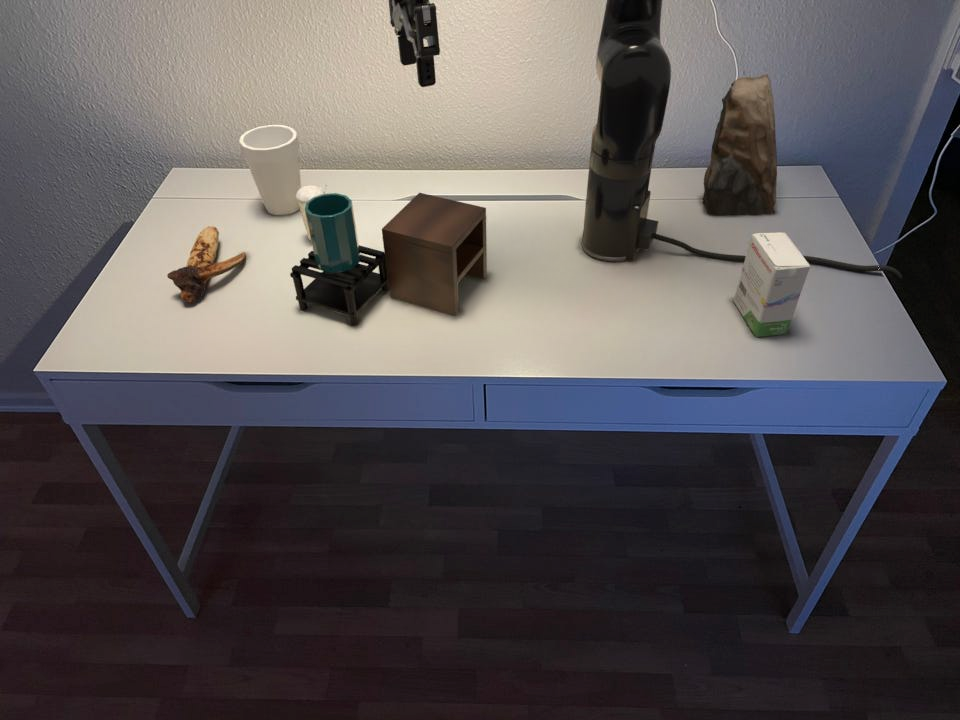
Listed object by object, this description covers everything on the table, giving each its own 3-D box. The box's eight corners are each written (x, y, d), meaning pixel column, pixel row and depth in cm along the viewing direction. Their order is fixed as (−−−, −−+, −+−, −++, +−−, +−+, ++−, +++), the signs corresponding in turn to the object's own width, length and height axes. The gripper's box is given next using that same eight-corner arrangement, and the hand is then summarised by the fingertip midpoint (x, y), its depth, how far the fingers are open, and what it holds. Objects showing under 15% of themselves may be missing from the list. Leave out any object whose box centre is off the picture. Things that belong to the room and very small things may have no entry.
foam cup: (321, 201, 129) (308, 132, 121) (285, 225, 124) (269, 154, 115) (282, 188, 133) (267, 120, 124) (246, 210, 128) (227, 141, 119)
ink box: (788, 335, 100) (813, 265, 92) (753, 337, 100) (776, 268, 92) (763, 297, 107) (785, 229, 99) (731, 300, 106) (750, 232, 98)
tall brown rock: (701, 216, 123) (726, 102, 110) (685, 180, 133) (706, 71, 119) (775, 215, 123) (809, 100, 110) (753, 179, 133) (782, 69, 119)
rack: (391, 288, 110) (386, 249, 105) (355, 326, 103) (348, 287, 98) (336, 273, 113) (328, 235, 108) (298, 309, 106) (289, 270, 102)
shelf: (487, 275, 112) (486, 207, 104) (455, 316, 105) (451, 246, 96) (424, 259, 115) (419, 192, 107) (390, 297, 108) (381, 228, 100)
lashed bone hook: (232, 307, 108) (253, 238, 121) (225, 282, 104) (247, 214, 117) (168, 308, 107) (196, 239, 120) (159, 283, 104) (189, 215, 117)
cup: (368, 253, 104) (360, 198, 98) (344, 276, 100) (334, 220, 94) (332, 244, 106) (322, 189, 100) (307, 266, 102) (296, 211, 96)
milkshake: (331, 246, 119) (321, 192, 112) (300, 243, 119) (288, 189, 113) (340, 231, 122) (331, 178, 115) (310, 228, 123) (299, 175, 116)
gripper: (453, -53, 82) (461, 88, 93) (417, -77, 92) (428, 52, 103) (390, -44, 81) (405, 98, 92) (360, -70, 91) (377, 61, 101)
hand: (417, 74), depth 97 cm, fingers open, 8 cm apart
